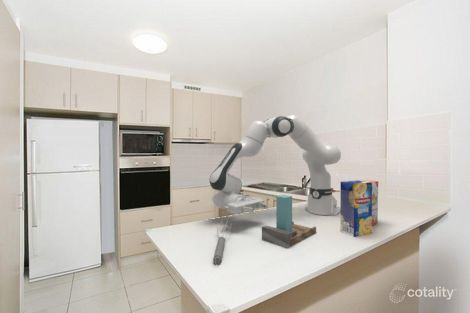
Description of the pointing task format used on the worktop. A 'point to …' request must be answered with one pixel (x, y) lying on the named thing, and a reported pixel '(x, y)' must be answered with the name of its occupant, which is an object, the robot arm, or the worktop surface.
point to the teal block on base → (284, 213)
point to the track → (286, 235)
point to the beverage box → (356, 208)
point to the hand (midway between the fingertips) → (259, 208)
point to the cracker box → (374, 201)
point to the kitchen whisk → (220, 246)
